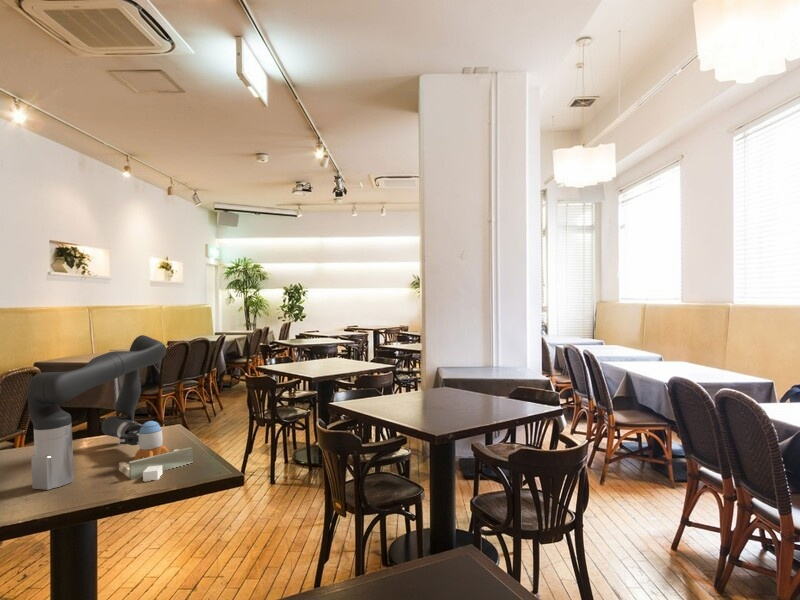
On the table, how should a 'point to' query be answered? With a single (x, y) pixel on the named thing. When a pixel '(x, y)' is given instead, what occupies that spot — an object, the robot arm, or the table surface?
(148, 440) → the toy rocket
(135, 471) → the cradle
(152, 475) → the fin block
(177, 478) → the table surface
